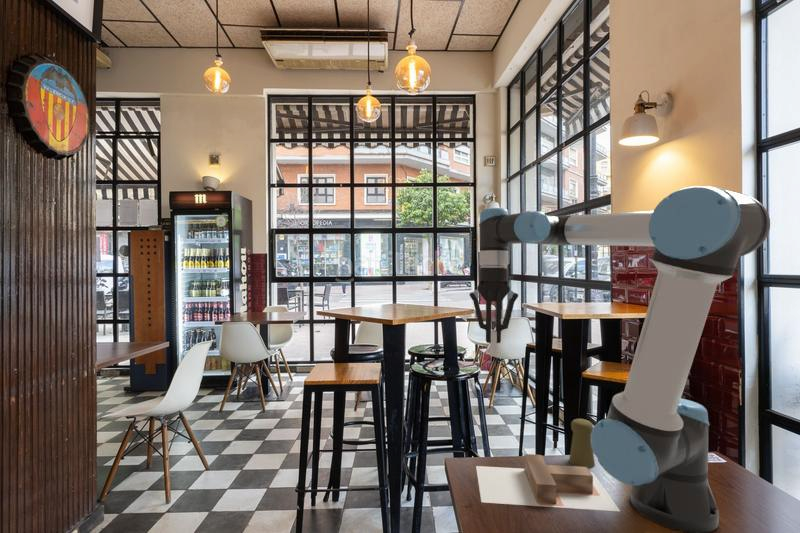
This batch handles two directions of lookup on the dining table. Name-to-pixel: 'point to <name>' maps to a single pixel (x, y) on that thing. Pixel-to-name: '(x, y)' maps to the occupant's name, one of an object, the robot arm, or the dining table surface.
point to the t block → (555, 479)
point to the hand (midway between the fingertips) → (493, 354)
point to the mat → (517, 491)
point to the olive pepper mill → (581, 444)
